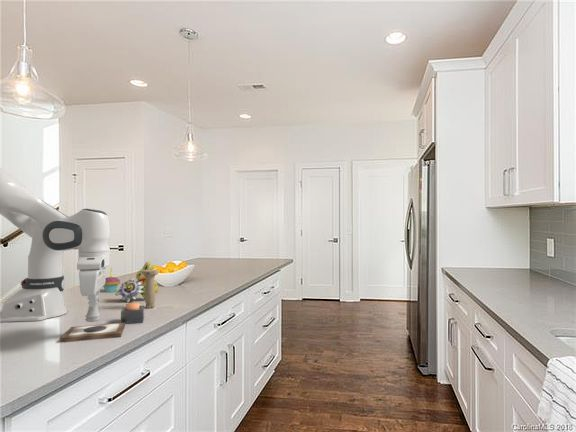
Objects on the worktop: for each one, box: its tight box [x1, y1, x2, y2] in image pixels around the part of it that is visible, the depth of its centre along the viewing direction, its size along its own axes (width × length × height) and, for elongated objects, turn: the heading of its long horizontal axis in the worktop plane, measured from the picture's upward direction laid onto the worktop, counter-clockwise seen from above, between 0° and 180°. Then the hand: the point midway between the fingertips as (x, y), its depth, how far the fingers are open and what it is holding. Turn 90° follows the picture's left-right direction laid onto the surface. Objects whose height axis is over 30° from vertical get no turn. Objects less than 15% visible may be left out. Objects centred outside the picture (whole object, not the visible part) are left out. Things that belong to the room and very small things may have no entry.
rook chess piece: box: [85, 294, 102, 323], centre depth 117 cm, size 4×4×8 cm
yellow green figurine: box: [135, 261, 159, 293], centre depth 184 cm, size 7×11×15 cm, turn 86°
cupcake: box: [102, 266, 121, 293], centre depth 188 cm, size 9×8×12 cm
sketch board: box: [60, 322, 126, 343], centre depth 118 cm, size 16×12×2 cm
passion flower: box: [115, 277, 145, 304], centre depth 167 cm, size 11×11×12 cm
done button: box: [125, 302, 140, 310], centre depth 132 cm, size 4×4×3 cm
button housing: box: [120, 305, 145, 325], centre depth 132 cm, size 7×7×4 cm
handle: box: [142, 269, 159, 309], centre depth 153 cm, size 5×6×15 cm
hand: (94, 304), depth 118 cm, fingers closed on rook chess piece, 3 cm apart
